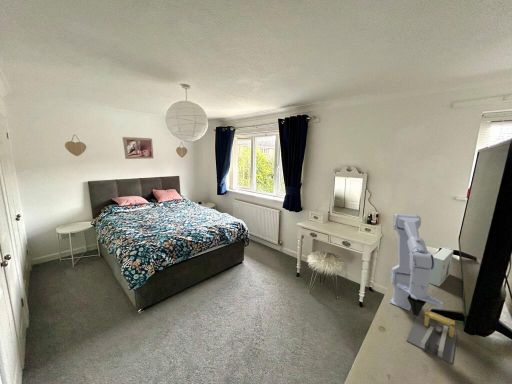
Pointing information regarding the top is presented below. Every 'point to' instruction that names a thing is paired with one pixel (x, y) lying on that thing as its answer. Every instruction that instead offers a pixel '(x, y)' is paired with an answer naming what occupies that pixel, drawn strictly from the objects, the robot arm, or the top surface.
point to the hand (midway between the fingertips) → (416, 314)
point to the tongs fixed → (440, 348)
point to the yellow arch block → (441, 319)
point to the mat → (431, 339)
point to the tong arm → (427, 338)
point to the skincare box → (441, 266)
